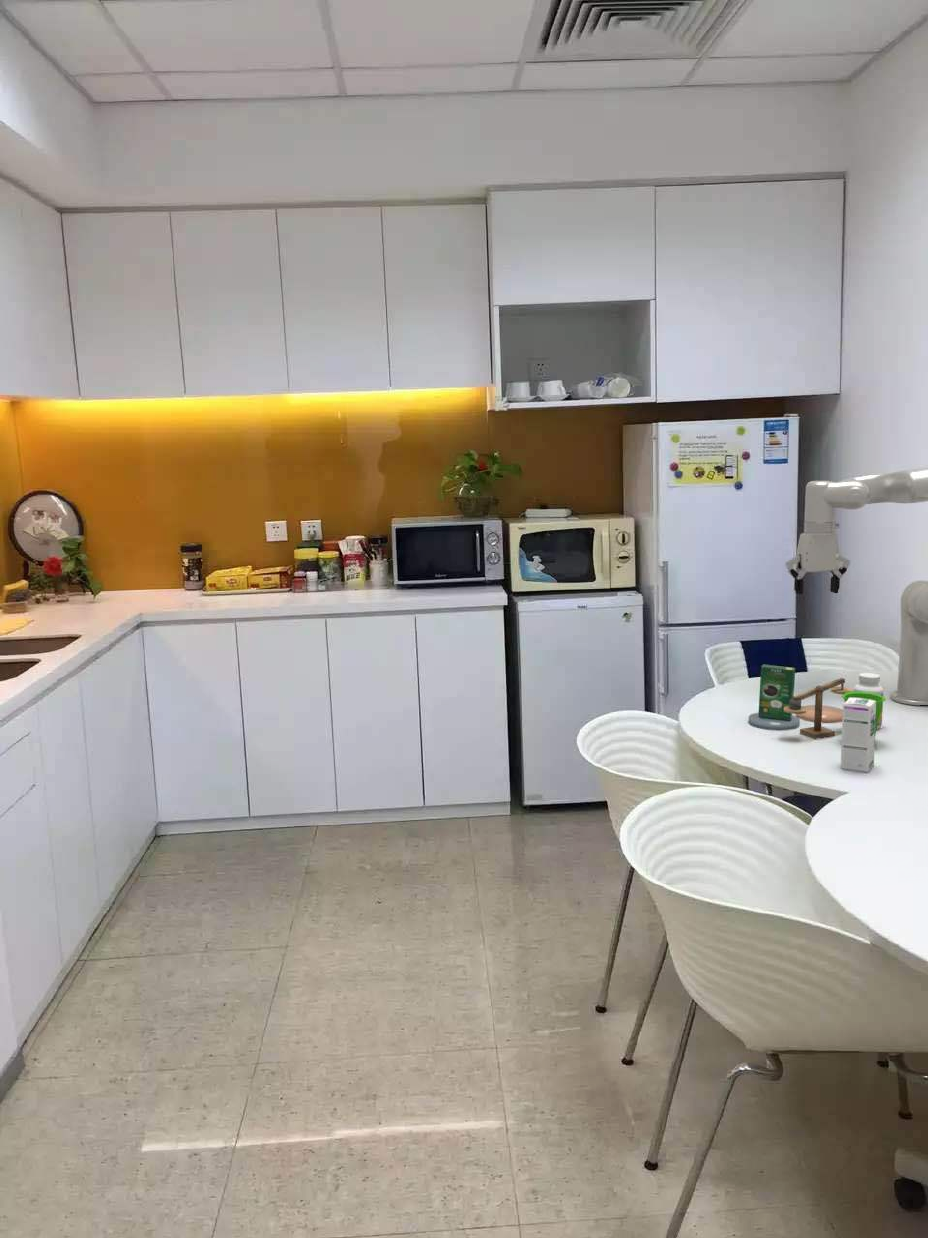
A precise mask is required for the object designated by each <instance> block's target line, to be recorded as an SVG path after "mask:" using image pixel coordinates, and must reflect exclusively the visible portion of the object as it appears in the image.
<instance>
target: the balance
mask: <svg viewBox="0 0 928 1238" xmlns="http://www.w3.org/2000/svg"><path fill="white" fill-rule="evenodd" d="M845 683H846V678H843V677H841V678H837V679H836V680H835V679H834V680H833V681H830V682H827V683H825V684H823V685H820V684H819V685H816V686H815V688H814V687H813V689H810V690H808V691H804V692H802V693H800V694H797V695H794V696H793V699H790V701H789V706H785V707H784V711H785V712H787V713H791V714H792V715H796V714H803V713H806V708H804V707H801V706H802V700H803V701H804V700H805V699H808V698H810V697H812V696H815V700H814V705H815V717H814V723H813V726H810V727H804V728H800V729H799V734H800V735H802V736H805V737H807V738H809V737H810V738H809V739H812V738H813V739H812V740H814V739H815V740H818V739H817V738H821V739H825V738H824V737H827V738H832V737H835V736H836V731H835V730H832V729H830V728H827V727H825V726H823V725H822V723H821V722H822V705H823V697H824V696H823V695H824V694H823V693H824V692H825V691H828V690H830V692H831V693H833V694H835V695H836V694H837V695H843V694H845V693H849V692H854V688H851V687H847V686H844V685H845Z"/></svg>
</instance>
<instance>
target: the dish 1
mask: <svg viewBox="0 0 928 1238" xmlns="http://www.w3.org/2000/svg"><path fill="white" fill-rule="evenodd" d="M758 714H759V712H754V713H752V714H749V715H748V724H749V725H750V726H751V727H752V726H753V727H754V728H757V729H758V728H759V729H762V730H766V731H767V730H769V731H788V730H789V731H790V730H795V729H797V728H799V727H800V724H801V723H800V718H799V717H797V716H796V715H794V714H792V719H791V721H786V720H779V719H770V718H762V717H758Z"/></svg>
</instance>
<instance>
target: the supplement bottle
mask: <svg viewBox="0 0 928 1238" xmlns="http://www.w3.org/2000/svg"><path fill="white" fill-rule="evenodd" d="M858 681H859V682H858V683H857V684H855V685H854V687H853V690H854V692H868V693H874V694H878V695H881V696H883V697H884V689H883V687H882V686H881V685H880V684H879V683H880V681H881V675H879V674H878V673H872V672H863V673H862V672H861V673H859V674H858ZM883 705H884V703H883V704H882V709H881V713H880V717H879V722H878V726H877V730H880V729H881V728H882V727H883V726H882V724H883V707H884V706H883Z"/></svg>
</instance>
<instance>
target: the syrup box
mask: <svg viewBox="0 0 928 1238" xmlns="http://www.w3.org/2000/svg"><path fill="white" fill-rule="evenodd" d="M842 710H843V717H842V721H841V749H840V753H841V754H840V768H841V769H844V770H848V771H854V772H855V771H856V772H861V773H869V771H871V769H872V768H873V766H874V764H875V745H876V735H875V719H876V701H875V700H871V699H865V698H850V697H849V699H848V700H847V701H845V702H844V701H843V704H842Z"/></svg>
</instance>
